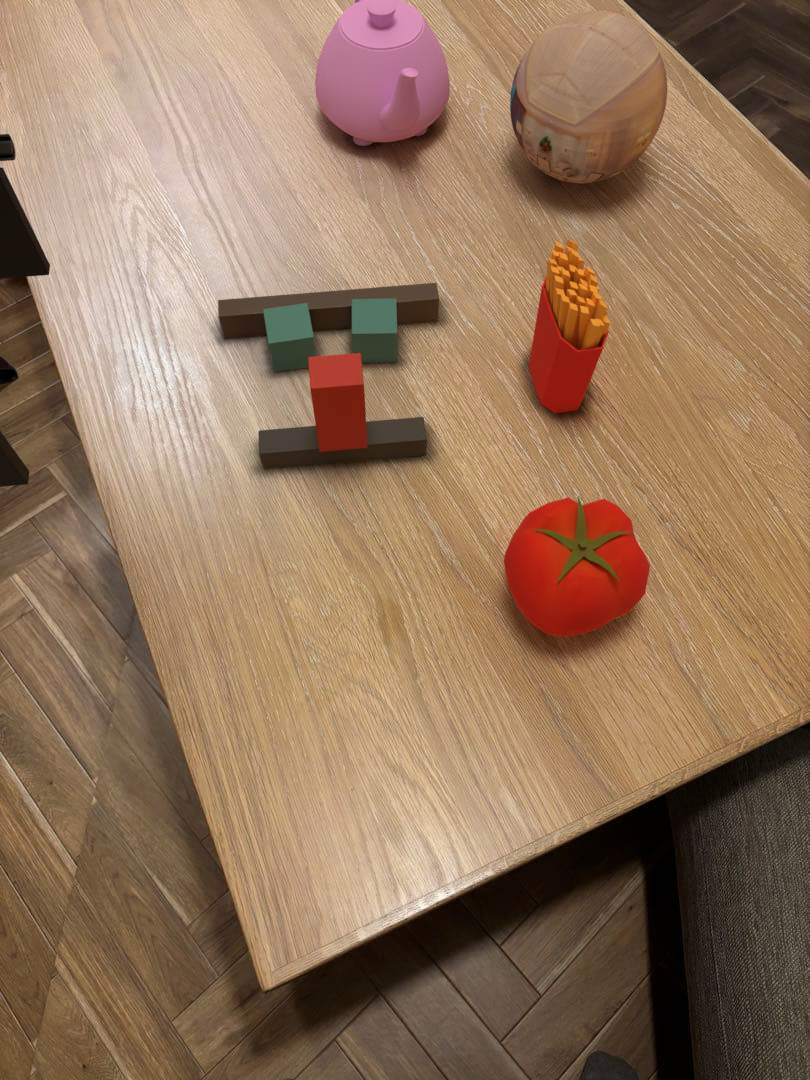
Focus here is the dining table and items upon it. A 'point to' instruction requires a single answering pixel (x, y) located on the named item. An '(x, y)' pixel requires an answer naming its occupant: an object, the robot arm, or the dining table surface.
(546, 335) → the french fries
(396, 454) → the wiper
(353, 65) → the teapot
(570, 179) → the ornament
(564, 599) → the tomato
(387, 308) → the cube
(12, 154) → the robot arm
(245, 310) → the strip
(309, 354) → the cube
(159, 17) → the dining table surface
